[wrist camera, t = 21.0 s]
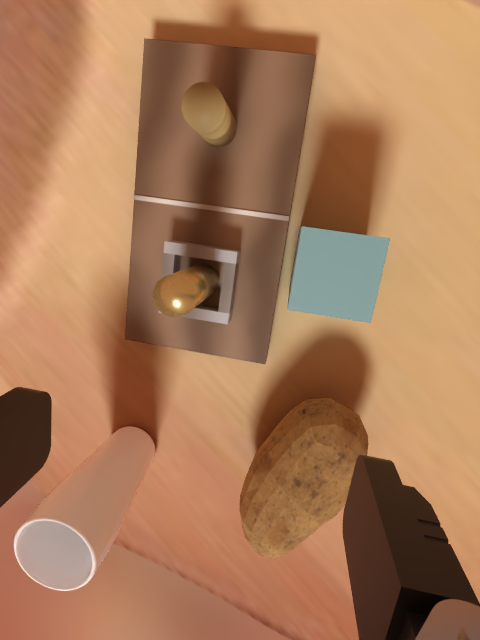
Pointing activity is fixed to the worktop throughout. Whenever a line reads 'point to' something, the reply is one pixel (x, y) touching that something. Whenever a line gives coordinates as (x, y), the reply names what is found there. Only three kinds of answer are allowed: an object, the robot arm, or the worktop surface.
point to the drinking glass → (84, 513)
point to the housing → (337, 273)
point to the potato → (300, 475)
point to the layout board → (215, 189)
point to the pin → (185, 289)
